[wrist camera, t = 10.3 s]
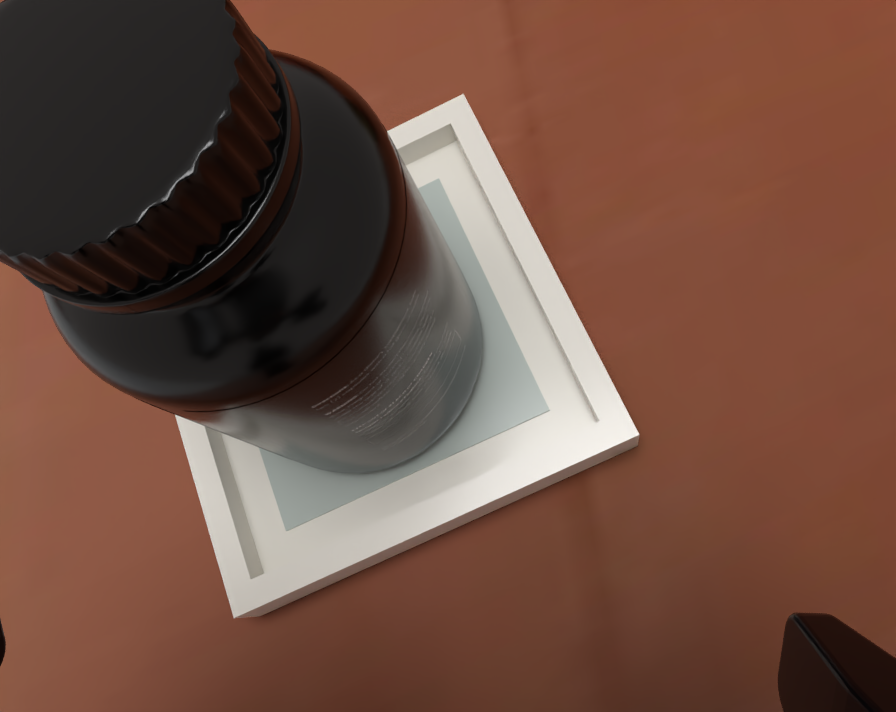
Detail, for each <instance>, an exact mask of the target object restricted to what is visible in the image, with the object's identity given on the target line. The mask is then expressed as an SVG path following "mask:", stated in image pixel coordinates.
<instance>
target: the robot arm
mask: <svg viewBox="0 0 896 712" xmlns="http://www.w3.org/2000/svg"><path fill="white" fill-rule="evenodd" d="M5 646H6V642H5V636H4V632H3V628H2V624H1V620H0V666H1V664H2V661H3V658H4V654H5ZM778 690H779V696H780V700H781V704H782V708H783V711H784V712H896V658H895V657H893V656H892V655H890V654H889V653H887V652H886V651H884V650H883V649H881V648H880V647H878V646H877V645H875V644H874V643H872V642H871V641H870V640H868V639H867V638H865V637H864V636H862V635H861V634H859V633H858V632H856V631H855V630H853V629H852V628H850V627H849V626H847V625H846V624H844V623H843V622H842V621H840V620H839V619H837V618H835V617H834V616H832V615H829V614H822V613H793V614H792V615H790V616H789V618H788V620H787V622H786V626H785V632H784V638H783V645H782V652H781V658H780V665H779V672H778Z"/></svg>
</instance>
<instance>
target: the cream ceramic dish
mask: <svg viewBox="0 0 896 712" xmlns="http://www.w3.org/2000/svg"><path fill="white" fill-rule="evenodd" d="M387 132H388V134H389V136H390V138H391V139H392V141H393V143H394V145H395V146H396V148H397V150H398V152H399V154H400V156H401V158H402V160H403V161H404V163H405V165H406V167H407V169H408V171H409V173H410V175H411V176H412V178H413V180H414V182H415V184H416V186H417V188H418V190H419V191H420V193H421V195H422V197H423V199H424V201H425V203H426V205H427V207H428V208H429V210H430V212H431V214H432V216H433V218H434V220H435V222H436V224H437V225H438V227H439V229H440V231H441V233H442V235H443V237H444V239H445V240H446V242H447V244H448V246H449V248H450V250H451V252H452V254H453V256H454V257H455V259H456V261H457V263H458V265H459V267H460V269H461V271H462V272H463V274H464V277H465V279H466V281H467V283H468V285H469V287H470V289H471V292H472V294H473V296H474V299H475V302H476V305H477V308H478V311H479V315H480V320H481V326H482V357H481V364H480V369H479V373H478V376H477V380H476V383H475V386H474V388H473V390H472V393H471V395H470V397H469V399H468V401H467V403H466V405H465V407H464V408H463V410H462V411H461V413H460V414H459V416H458V417H457V419H456V420H455V421H454V423H453V424H452V425H451V426H450V428H449V429H448V430H447V431H446V432H445V433H444V434H443V435H442V436H441V437H440V438H439V439H438V440H436V441H435V442H434V443H433V444H432V445H431V446H429V447H428V448H426V449H425V450H423V451H422V452H421V453H419V454H417V455H416V456H414V457H412V458H410V459H409V460H406V461H404V462H402V463H400V464H398V465H395V466H392V467H389V468H386V469H382V470H378V471H374V472H367V473H352V474H347V473H335V472H330V471H324V470H320V469H316V468H313V467H310V466H307V465H304V464H301V463H299V462H296V461H293V460H290V459H287V458H285V457H282V456H280V455H277V454H275V453H272V452H270V451H267V450H264V449H262V448H259V447H257V446H254V445H252V444H249V443H247V442H244V441H241V440H239V439H236V438H234V437H231V436H229V435H226V434H224V433H221V432H218V431H216V430H213V429H211V428H208V427H206V426H203V425H201V424H198V423H195V422H193V421H190V420H188V419H185V418H183V417H180V416H178V415H175V416H176V420H177V423H178V426H179V430H180V433H181V437H182V440H183V444H184V447H185V451H186V454H187V458H188V461H189V465H190V468H191V471H192V475H193V478H194V482H195V485H196V489H197V492H198V496H199V499H200V503H201V506H202V509H203V513H204V516H205V520H206V523H207V527H208V530H209V534H210V537H211V541H212V544H213V547H214V551H215V554H216V558H217V561H218V565H219V568H220V572H221V575H222V579H223V582H224V586H225V589H226V592H227V596H228V599H229V603H230V606H231V610H232V613H233V617H234V618H244V617H258V616H262V615H264V614H266V613H269V612H271V611H273V610H275V609H277V608H280V607H282V606H284V605H286V604H289V603H291V602H293V601H295V600H297V599H300V598H302V597H304V596H306V595H309V594H311V593H313V592H315V591H317V590H320V589H322V588H324V587H326V586H328V585H331V584H333V583H335V582H337V581H340V580H342V579H344V578H346V577H348V576H351V575H353V574H355V573H357V572H359V571H362V570H364V569H366V568H368V567H371V566H373V565H375V564H377V563H379V562H382V561H384V560H386V559H388V558H390V557H393V556H395V555H397V554H399V553H402V552H404V551H406V550H408V549H410V548H413V547H415V546H417V545H419V544H421V543H424V542H426V541H428V540H430V539H433V538H435V537H437V536H439V535H441V534H444V533H446V532H448V531H450V530H452V529H455V528H457V527H459V526H461V525H464V524H466V523H468V522H470V521H472V520H475V519H477V518H479V517H481V516H484V515H486V514H488V513H490V512H492V511H495V510H497V509H499V508H501V507H503V506H506V505H508V504H510V503H512V502H515V501H517V500H519V499H521V498H523V497H526V496H528V495H530V494H532V493H534V492H537V491H539V490H541V489H543V488H546V487H548V486H550V485H552V484H554V483H557V482H559V481H561V480H563V479H565V478H568V477H570V476H572V475H574V474H577V473H579V472H581V471H583V470H585V469H588V468H590V467H592V466H594V465H596V464H599V463H601V462H603V461H605V460H608V459H610V458H612V457H614V456H616V455H619V454H621V453H623V452H625V451H627V450H630V449H632V448H634V447H636V446H638V441H639V433H638V431H637V429H636V427H635V425H634V423H633V421H632V419H631V418H630V416H629V414H628V412H627V410H626V408H625V406H624V404H623V402H622V400H621V398H620V396H619V394H618V392H617V390H616V388H615V387H614V385H613V383H612V381H611V379H610V377H609V375H608V373H607V371H606V369H605V367H604V365H603V363H602V361H601V359H600V357H599V356H598V354H597V352H596V350H595V348H594V346H593V344H592V342H591V340H590V338H589V336H588V334H587V332H586V330H585V328H584V326H583V325H582V323H581V321H580V319H579V317H578V315H577V313H576V311H575V309H574V307H573V305H572V303H571V301H570V299H569V297H568V295H567V294H566V292H565V290H564V288H563V286H562V284H561V282H560V280H559V278H558V276H557V274H556V272H555V270H554V268H553V266H552V265H551V263H550V261H549V259H548V257H547V255H546V253H545V251H544V249H543V247H542V245H541V243H540V241H539V239H538V237H537V235H536V234H535V232H534V230H533V228H532V226H531V224H530V222H529V220H528V218H527V216H526V214H525V212H524V210H523V208H522V206H521V204H520V203H519V201H518V199H517V197H516V195H515V193H514V191H513V189H512V187H511V185H510V183H509V181H508V179H507V177H506V175H505V173H504V172H503V170H502V168H501V166H500V164H499V162H498V160H497V158H496V156H495V154H494V152H493V150H492V148H491V146H490V144H489V142H488V141H487V139H486V137H485V135H484V133H483V131H482V129H481V127H480V125H479V123H478V121H477V119H476V117H475V115H474V113H473V111H472V110H471V108H470V106H469V104H468V102H467V100H466V98H465V96H464V94H462V95H460V96H458V97H456V98H454V99H452V100H450V101H448V102H446V103H444V104H442V105H440V106H438V107H436V108H434V109H432V110H430V111H428V112H426V113H424V114H422V115H420V116H418V117H416V118H414V119H411V120H409V121H407V122H405V123H403V124H401V125H399V126H397V127H395V128H393V129H391V130H389V131H387Z"/></svg>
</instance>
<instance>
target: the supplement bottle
mask: <svg viewBox="0 0 896 712" xmlns="http://www.w3.org/2000/svg"><path fill="white" fill-rule="evenodd" d="M0 261H1V262H2V263H4V264H6V265H8V266H10V267H12V268H14V269H16V270H18V271H19V272H20V273H21V274H22V275H23V276H24V277H25V278H26V279H28V280H29V281H30V282H31V283H32V284H34V285H35V286H37V287H38V288H40V289H41V290H42V291H43V295H44V298H45V301H46V304H47V307H48V309H49V312H50V314H51V316H52V318H53V321H54V323H55V325H56V327H57V329H58V330H59V332H60V334H61V335H62V337H63V339H64V340H65V342H66V343H67V345H68V346H69V347H70V349H71V350H72V351H73V352H74V354H75V355H76V356H77V358H78V359H79V360H80V361H81V362H82V363H83V364H84V365H85V366H87V367H88V368H89V369H90V370H91V371H92V372H93V373H94V374H95V375H97V376H98V377H99V378H101V379H102V380H103V381H105V382H106V383H108V384H110V385H111V386H113V387H115V388H116V389H118V390H120V391H122V392H124V393H126V394H128V395H130V396H132V397H134V398H136V399H138V400H141V401H143V402H145V403H148V404H150V405H152V406H155V407H157V408H160V409H162V410H165V411H167V412H170V413H173V414H175V415H178V416H180V417H183V418H185V419H188V420H190V421H193V422H195V423H198V424H201V425H203V426H206V427H208V428H211V429H213V430H216V431H218V432H221V433H224V434H226V435H229V436H231V437H234V438H236V439H239V440H241V441H244V442H247V443H249V444H252V445H254V446H257V447H259V448H262V449H264V450H267V451H270V452H272V453H275V454H277V455H280V456H282V457H285V458H287V459H290V460H293V461H296V462H299V463H301V464H304V465H307V466H310V467H313V468H316V469H320V470H324V471H330V472H335V473H347V474H352V473H367V472H374V471H378V470H382V469H386V468H389V467H392V466H395V465H398V464H400V463H402V462H404V461H406V460H409V459H410V458H412V457H414V456H416V455H417V454H419V453H421V452H422V451H423V450H425V449H426V448H428V447H429V446H431V445H432V444H433V443H434V442H435V441H436V440H438V439H439V438H440V437H441V436H442V435H443V434H444V433H445V432H446V431H447V430H448V429H449V428H450V426H451V425H452V424H453V423H454V421H455V420H456V419H457V417H458V416H459V414H460V413H461V411H462V410H463V408H464V407H465V405H466V403H467V401H468V399H469V397H470V395H471V393H472V390H473V388H474V386H475V383H476V380H477V376H478V373H479V369H480V364H481V357H482V326H481V320H480V315H479V311H478V308H477V305H476V302H475V299H474V296H473V294H472V292H471V289H470V287H469V285H468V283H467V281H466V279H465V277H464V274H463V272H462V271H461V269H460V267H459V265H458V263H457V261H456V259H455V257H454V256H453V254H452V252H451V250H450V248H449V246H448V244H447V242H446V240H445V239H444V237H443V235H442V233H441V231H440V229H439V227H438V225H437V224H436V222H435V220H434V218H433V216H432V214H431V212H430V210H429V208H428V207H427V205H426V203H425V201H424V199H423V197H422V195H421V193H420V191H419V190H418V188H417V186H416V184H415V182H414V180H413V178H412V176H411V175H410V173H409V171H408V169H407V167H406V165H405V163H404V161H403V160H402V158H401V156H400V154H399V152H398V150H397V148H396V146H395V145H394V143H393V141H392V139H391V138H390V136H389V134H388V132H387V131H386V129H385V127H384V126H383V124H382V123H381V121H380V120H379V118H378V117H377V115H376V114H375V112H374V111H373V110H372V108H371V107H370V106H369V105H368V103H367V102H366V101H365V100H364V99H363V98H362V97H361V96H360V95H359V94H358V93H357V92H356V91H355V90H354V89H353V88H352V87H351V86H350V85H348V84H347V83H346V82H345V81H343V80H342V79H341V78H340V77H338V76H336V75H335V74H333V73H332V72H330V71H328V70H327V69H325V68H323V67H321V66H319V65H317V64H315V63H313V62H311V61H308V60H306V59H303V58H300V57H297V56H294V55H291V54H288V53H284V52H279V51H275V50H270V49H268V48H267V47H266V46H265V44H264V43H263V42H262V41H261V40H260V39H259V38H258V37H257V36H256V35H255V34H253V32H252V31H251V29H250V28H249V26H248V25H247V23H246V22H245V20H244V19H243V17H242V16H241V15H240V13H239V12H238V10H237V9H236V7H235V6H234V5H233V3H232V2H231V1H230V0H4V1H2V2H1V3H0Z"/></svg>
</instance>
